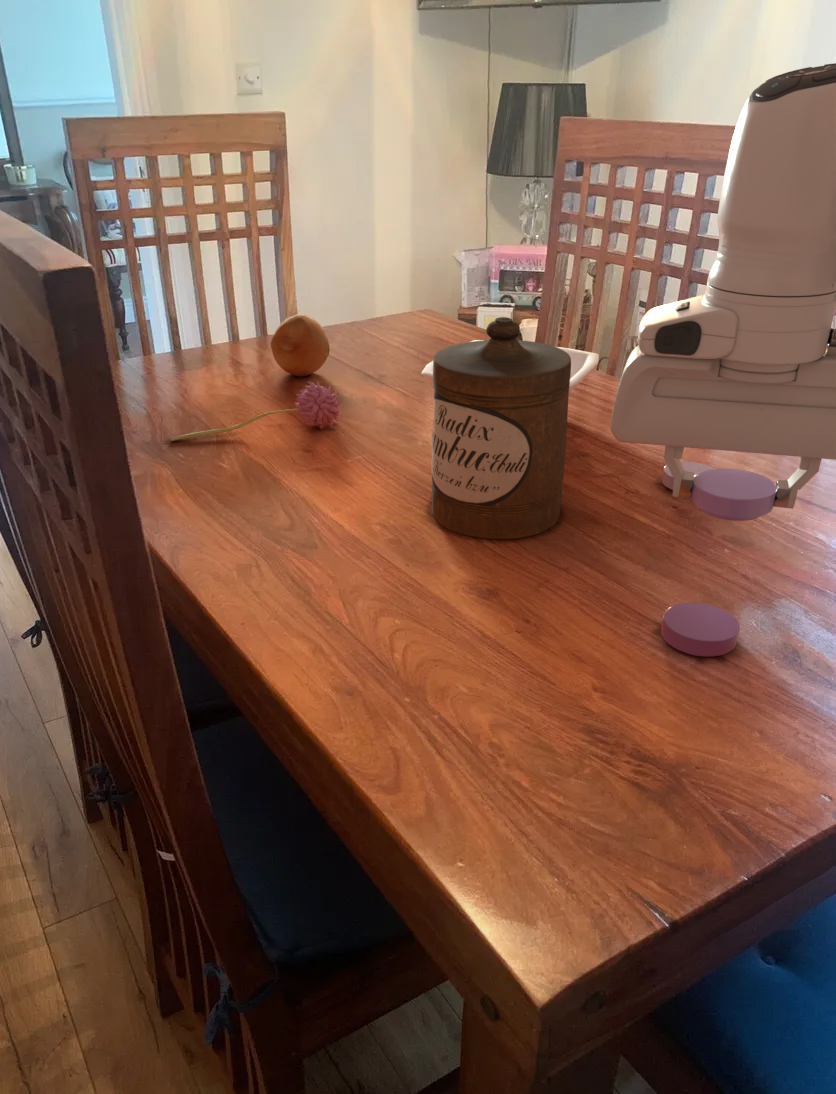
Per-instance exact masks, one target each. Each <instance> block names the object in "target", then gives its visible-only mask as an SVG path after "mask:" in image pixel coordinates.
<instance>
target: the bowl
mask: <svg viewBox="0 0 836 1094" xmlns="http://www.w3.org/2000/svg"><path fill="white" fill-rule="evenodd" d="M483 340H484V339H483ZM483 340H482V339H473V340H470V342H473V341H483ZM556 347H557V348H560V349H562V350H564V351H565V352H567V353H568V354H569V356H570V357H571V375H570V385H569V394H570V393H572V392H573V391H574V389H575V388H577V387H578V386H579V384H581V383H582V382H583V381H584V380H585V378H586V377H587V376H588V375H589V374H591V372H592V371H593V370H594V369H595V368H596V367H597V366H598V365H599V360H600V359H599V357H600V355H599V353H596V352H591V351H585V350H581V349H575V348H569V347H562V346H556ZM420 375H421V377H422V378H424V380H425V381H427V383H429V385H431V386H432V387H433V360H432V361H429V363H427V364H426V365H425V367H424V368H423V369H422V371H421V373H420Z"/></svg>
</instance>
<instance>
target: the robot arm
mask: <svg viewBox="0 0 836 1094" xmlns="http://www.w3.org/2000/svg"><path fill="white" fill-rule="evenodd" d="M733 132H734V133H733V135H732V139H731V143H730V147H729V151H728V156H727V160H726V163H725V164H726V165H725V170H724V175H723V180H722V186H721V191H720V197H719V204H718V210H717V228H718V247H717V253H716V257H715V259H714V261H713V263H712V266H711V268H710V270H709V273H708V276H707V282H706V288H705V292H704V294H700V295H698V296H694V297H693V296H692V297H689V298H686V299H682V300H679V301H674V302H671V303H665V304H663V305H659V306H656V307H655V306H654V307H653V308H651V309H649V310H648V311H647V312H646V313H645V314H644V315H643V317H642V318H641V320H640V322H639V326H638V329H637V330H638V331H637V344H638V345H636V346H635V347H634V348H633V349H632V351H631V352H630V353H629V356H628V357H627V360H626V363H625V365H624V368H623V370H622V374H621V377H620V380H619V384H618V387H617V391H616V395H615V398H614V402H613V408H612V412H611V419H610V426H609V430H610V432H611V434H612V435H613V437H614V438H615V439H616V441H618V442H620V443H629V444H641V445H653V446H664V447H665V448H664V454H663V455H664V456H663V459H664V461H665V463H666V465H668V467H669V469H670V472H671V474H672V476H673V478H675V480H674V486H673V490H672V495H671V496H672V497H673V498H680V499H690V498H691V494H692V490H691V489H692V488H693V482H694V472H689V471H684V469H683V467H682V465H681V462H680V461H681V460H682V458H683V455H684V449H685V448H689V449H699V450H701V449H702V450H713V451H725V452H726V451H727V452H739V453H749V454H750V453H751V454H762V455H772V456H773V455H775V456H785V457H797V463H798V468H797V469H796V470H795V471H794V472H793V473H792V474H791V475H790V477H789V478H788V479H776V481H775V484H776V486H777V493H776V498H775V502H774V507H773V508H782V509H790V510H791V509H794V507H795V504H796V500H797V495H798V491H799V490H801V489H802V488H803V487H805V486H806V484H807V483H808V482H809V481H811V480H812V478H813V477H815V476H816V475H817V473H818V472H819V471H820V466H821V463H822V459H823V460H835V461H836V328H832V325H833V321H834V317H835V313H836V63H825V64H824V65H819V66H808V67H803V68H799V69H794V70H790V71H787V72H784V73H781V74H778V75H775V76H772V77H771V78H768V79H767V80H765V81H764V82H763V83H762V84H760V85H759V86H758V87H756V88H754V89H753V90H752V91H751V93H750V95H748V98H747V99H746V101H745V103H744V106H743V108H742V110H741V113H740V115H739V117H738V120H737V123H736V125H735V129H734V131H733Z"/></svg>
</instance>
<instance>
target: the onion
mask: <svg viewBox="0 0 836 1094" xmlns="http://www.w3.org/2000/svg"><path fill="white" fill-rule="evenodd" d="M270 348H271V352H272V356H273V358H274V361H275V362H276V363H277V365H278V366H279V367H280V368H281V369H282V370H283V371H284V372H286V373H288V374H291V375H293V376H296V377H306V376H310V375H312V374H313V373H315V372H317V371H318V370H320V369H321V368H322V367H323V365H325V363H326V361H327V360H328V357H329V355H330V352H331V351H330V350H331V349H330V343H329V338H328V336H327V333H326V332H325V330H324V328H323V327H322V325H321V324H320V323H319V322H318V321H317V320H316V319H315V318H313V317H311V316H309V315H307V314H305V313H298V314H293V315H292V316H290V317H287V318H286V319H284V320H283V321H282V322H281V323H280V324H279V325H278V326H277V328H276V329H275V331H274V333H273V335H272V337H271V339H270Z"/></svg>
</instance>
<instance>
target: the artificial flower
mask: <svg viewBox="0 0 836 1094" xmlns="http://www.w3.org/2000/svg"><path fill="white" fill-rule="evenodd" d="M316 381H317V382H316V384H315V383H314V382H313V381H310V380H309V381H307V383H308V384H309V385H303V386H304V387H305V389H304V388H303V389H300V391H299V392H300V393H296V394H295V396H296V398H294V399H296V401H294V404H295V406H294V407H295V408H289V409H280V410H272V411H267V412H264V413H261V414H259V415H256V416H254V417H252V418H250V419H249V418H248V419H247V420H246V421H243V422H241V423H238V424H235V425H233V426H229V427H223V428H217V429H209V430H202V431H196V432H190V433H186V434H180V435H176V436H172V437H170V441H171V442H179V441H184V440H189V439H193V438H198V437H204V436H210V435H216V434H221V433H228V432H231V431H234V430H238V429H242V428H243V427H245V426H246V425H249V424H251V423H253V422H254V421H257V420H259V419H261V418H264V417H266V416H269V415H274V414H278V413H287V412H288V413H289V412H295V411H296V412H295V415H297V414H300V415H301V416H302V417H300V418H299V421H303V422H304V423H306V425H307V426H310V427H318V428H320V430H323V427H325V426H328V427H330V428H332V427H333V423H334V420H335V421H336V422H337V423H338V422H339V420H338V419H339V417H341V416H342V415H341V414H340V409H339V407H340V406H341V404H343V400H340V401H338V399H337V396H338V395H339V392H335V391H333V392H332V385H329V387H328V388H326V386H325V385H324V386H321V384H320V381H319V380H316ZM331 393H332V394H331Z"/></svg>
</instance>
